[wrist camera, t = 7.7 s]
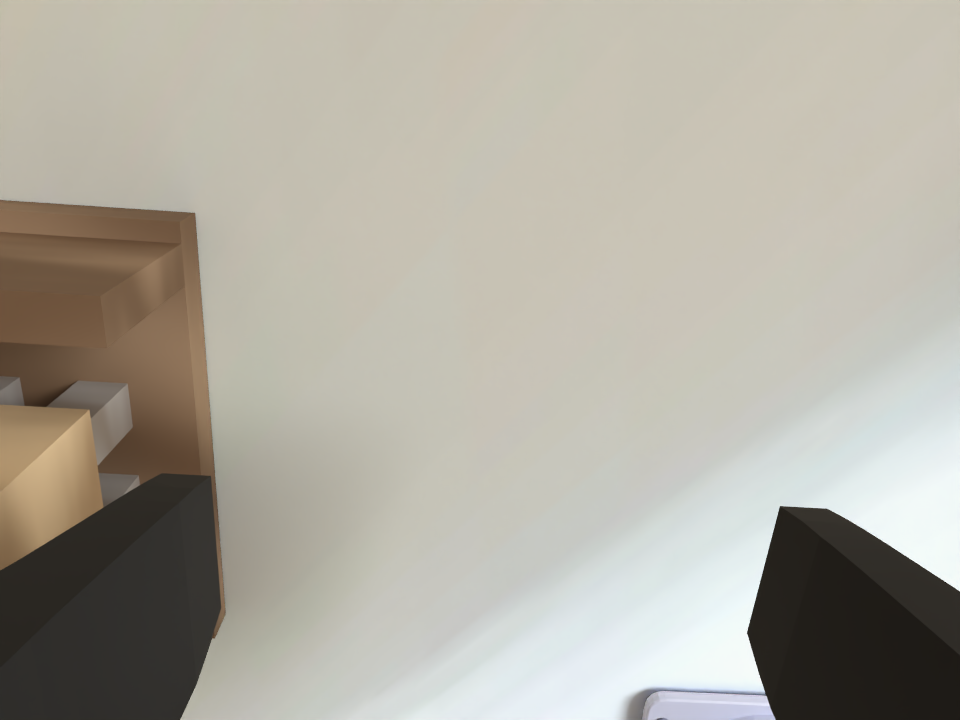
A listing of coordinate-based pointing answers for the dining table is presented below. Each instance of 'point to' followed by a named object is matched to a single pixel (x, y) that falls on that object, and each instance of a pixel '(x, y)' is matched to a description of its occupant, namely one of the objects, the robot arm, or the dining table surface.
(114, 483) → the stand
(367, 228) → the dining table surface
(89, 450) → the light wooden block
